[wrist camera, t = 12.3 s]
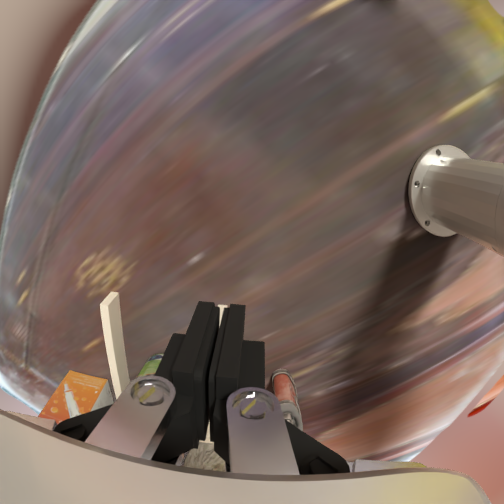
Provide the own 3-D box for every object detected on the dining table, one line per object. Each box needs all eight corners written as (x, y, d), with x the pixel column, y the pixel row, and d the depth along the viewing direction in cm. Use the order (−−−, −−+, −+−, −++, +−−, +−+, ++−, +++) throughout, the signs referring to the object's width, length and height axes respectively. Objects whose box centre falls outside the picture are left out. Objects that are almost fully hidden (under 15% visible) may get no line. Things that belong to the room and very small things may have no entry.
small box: (108, 378, 45) (80, 432, 33) (114, 403, 47) (91, 456, 35) (68, 368, 45) (36, 417, 32) (76, 394, 47) (49, 442, 34)
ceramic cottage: (175, 466, 53) (170, 523, 39) (204, 427, 49) (203, 495, 35) (240, 481, 56) (245, 535, 42) (278, 446, 53) (290, 507, 38)
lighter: (300, 401, 47) (308, 447, 37) (280, 406, 47) (285, 452, 37) (289, 366, 44) (298, 414, 35) (267, 372, 44) (271, 420, 35)
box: (227, 305, 41) (223, 338, 33) (220, 407, 47) (217, 443, 39) (111, 291, 40) (86, 319, 33) (125, 393, 46) (111, 425, 39)
